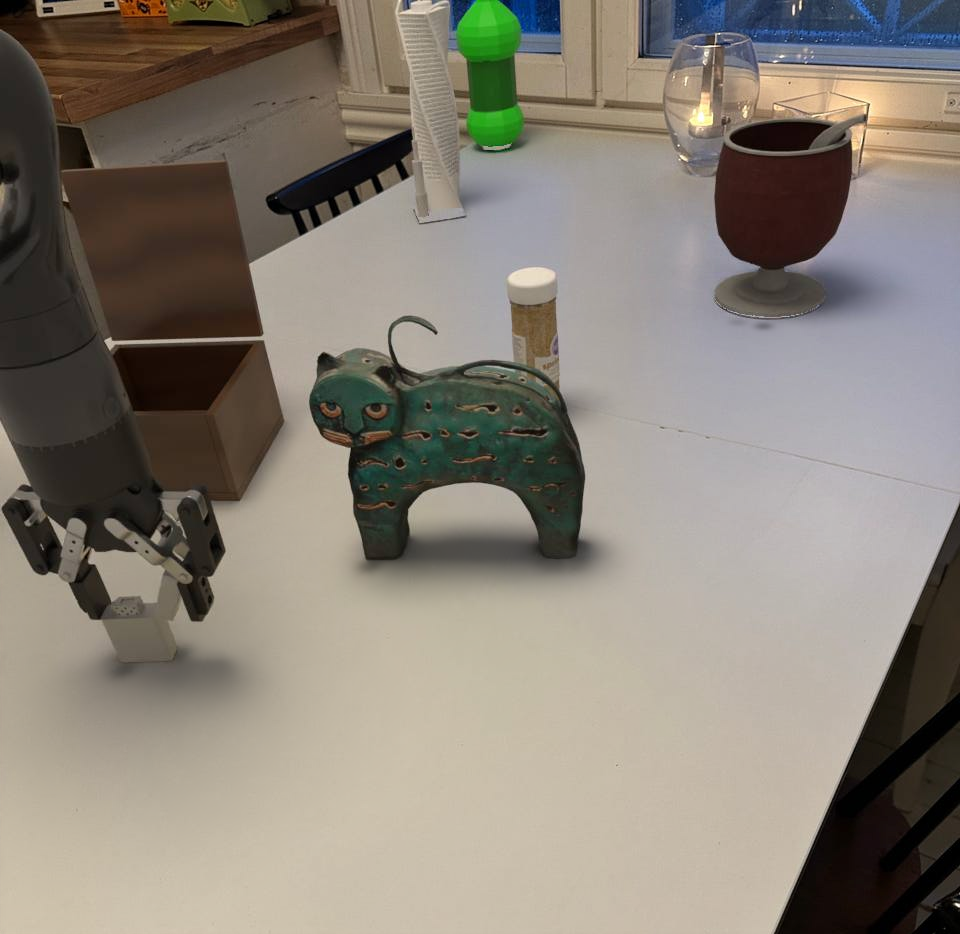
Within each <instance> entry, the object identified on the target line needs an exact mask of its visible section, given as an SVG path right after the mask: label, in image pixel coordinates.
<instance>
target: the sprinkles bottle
mask: <svg viewBox="0 0 960 934" xmlns="http://www.w3.org/2000/svg"><path fill="white" fill-rule="evenodd" d="M506 288H507V289H506V291H507V298H508V301H509V304H510V314H511V315H510V318H511V338H512V339H511V340H512V354H513V362H515V363H520V364H524V365H527V366H530V367H533V368H536V369H538V370H540V371H541V372H543V373H544V374H545V375H547V376H548V377H549V378H550V379H551V380H552V381H553V382H554V383H555V384H556V386H557V388H558V389H559V391H560V389H561V388H560V386H561V385H560V376H561V374H560V373H561V372H560V370H561V369H560V352H559V350H560V349H559V333H558V321H557V320H558V318H557V302H556V301H557V296H558V277H557V274H556V273H555V271H553V270H552V269H550V268H546V267H539V266H538V267H536V266H534V267H526V268H525V267H524V268H521V269H518V270H515V271H514V272H511V274H509V275H508V277H507V280H506ZM514 372H517V373H519V374H522V375H524V376H527V377H528V378H530V379H532V380H533V381H535V382H537V383H539V384H540V385H542V386H543V387H545V388H546V389H547V390H548V391H549V392H550V393H552V394H553V395H554V396H555V397H556V398H557V399H558V401H559V398H558V396H557V395H556V393H555V392H554V391H553V390H552V389H551V387H550V386H548V385H547V384H545V383H544V382H543V381H541V380H540V379H539V378H537V377H535V376H533V375H532V374H529V373H527V372H524V371H519V370H515V369H514ZM560 392H561V391H560ZM559 402H560V401H559Z"/></svg>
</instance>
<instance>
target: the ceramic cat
mask: <svg viewBox="0 0 960 934" xmlns="http://www.w3.org/2000/svg"><path fill="white" fill-rule="evenodd" d="M401 323H413V324H417V325H419V326H421V327H424V328H425V329H426V330H429V331H431V332H432V333H433V335H435V336H437V335H438V333H439V332H438V330H437V328H436V327H435V326H434V325H433V324H432V323H431V322H430V321H428V320H427V319H425V318H424V317H423V318H422V317H420V316H416V315H403V316H400V317H398V318H397V319H396V320H394V321H393V322H392V323H390V326H389V328H388V332H387V347H388V351H389V355H390V356H389V355H387V354H385V353H382V352H381V351H378V350H374V349H370V348H364V347H356V348H353V349H349V350H345V351H344V352H342V353H340V354H339V355H337V356H335V355H332V354H330V353H329V352H327V351H322V352H321V353H320V354H319V355H318V356H317V359H316V364H317V365H316V378H315V381H314V384H313V386H312V389H311V391H310V393H309V399H308V405H309V410H310V414H311V418H312V421H313V423H314V425H315V426H316V428H317V430H318V432H319V435H320V436H321V437H322V438H323V439H325V440H326V441H328V442H330V443H332V444H334V445H337V446H341V447H345V448H347V449H350V450H349V451H350V452H349V457H348V462H347V478H348V481H349V486H350V490H351V494H352V514H353V517H354V519H355V523H356V524H357V528H358V530H359V534H360V539H361V544H362V548H363V553H364V559H367V560H396V559H397V558H399V557H400V556H402V555H403V554H404V552H405V551H406V548H407V543H408V539H409V537H410V536H411V535H410V533H411V531H410V530H411V529H410V528H411V527H410V523H409V509H410V508H411V507H412V505H413V504H414V503H415V502H416V500H417V499H418V498H419V497H420V496H421V495H422V494H423V493H425V492H428V491H429V490H433V489H437V488H443V487H448V486H452V485H458V484H472V483H474V484H484V485H485V484H486V485H492V486H495V487H500V488H503V489H506V490H508V491H510V492H513V493H514V494H515V495H516V496H517V497H518V498H519V499H520V501H521V502H522V504H523V505H524V508H526V510H527V511H528V513H529V515H530V518H531V520H532V522H533V524H534V526H535V529H536V531H537V532H536V533H537V537H538V543H539V550H540V553H541V555H542V556H543V557H545V558H550V559H565V558H572V557H576V555H577V554H578V547H579V539H580V532H581V526H582V516H583V508H584V493H585V485H586V470H585V465H584V462H583V457H582V450H581V445H580V441H579V439H578V436H577V433H576V431H575V428H574V425H573V423H572V420H571V418H570V416H569V413H568V409H567V405H566V402H565V399H564V397H563V395H562V392H561V391H559V389H558V388H557V386H556V384H555V383H554V382H553V381H552V380H551V379H550V378H549V377H548V376H547V375H545V374H544V373H543V372H541V371H540V370H538V369H536V368H533V367H530V366H527V365H524V364H520V363H515V362H514V361H510V360H499V359H482V360H476V361H472V362H468V363H464V364H462V365H453V366H445V367H440V368H435V369H431V370H428V371H423V372H416V371H413V370H410V369H408V368H405V366H403V365H402V364H401V363H399V361H398V358H397V355H396V353H395V351H394V347H393V344H392V333H393V331H394V329H395V328H396V326H398V325H400V324H401ZM498 367H500V368H498ZM503 368H504V369H503ZM513 370H514V371H513ZM515 370H519V371H524V372H527V373H529V374H532V375H533V376H535V377H537V378H539V379H540V380H541V381H543V382H544V383H545V384H547V385H548V386H550V387H551V389H552V390H553V391H554V392H555V393H556V395H557V396H558V398H559V401H560V402H559V401H558V399H557V398H556V397H555V396H554V395H553V394H552V393H550V392H549V391H548V390H547V389H546V388H545V387H543V386H542V385H540V384H539V383H537V382H535V381H533V380H532V379H530V378H528V377H527V376H524V375H522V374H519V373H517V372H515Z"/></svg>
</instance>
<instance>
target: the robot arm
mask: <svg viewBox="0 0 960 934" xmlns="http://www.w3.org/2000/svg"><path fill="white" fill-rule="evenodd" d="M45 78H46V77H45V76H44V74H43V72H42V70H41V68H40V66H39V65H38V64H37V62H36V61H35V59H34V58H33V57H32V55H31V54H30V52H28V50H26V48H24V46H23V45H22V44H21V43H20V41H18V40H17V39H15V38H14V37H13V36H12V35H11V34H10V33H7V32H5V31H4V30H2V29H1V28H0V186H2V185H3V186H4V195H3V201H2V204H1V207H0V423H1V426H2V428H3V430H4V432H5V435H6V436H7V438H8V441H9V442H10V444H11V446H12V449H13V451H14V453H15V455H16V457H17V459H18V461H19V464H20V465H21V468H22V470H23V472H24V474H25V476H26V478H27V480H28V483H29V484H21V485H20V486H18V488H17V489H16V490H14V491H13V493H12V494H11V495H10V496H9V497H8V498H7V500H6V501H5V502H4V504H3V505H2V506H1V512H2V514H3V517H4V518H5V521H6V522H7V524H8V525H9V528H10V529H11V532H12V533H13V535H14V537H15V540H16V541H17V543H18V545H19V547H20V549H21V550H22V553H23V554H24V557H25V558H26V560H27V562H28V564H29V566H30V567H31V569H32V571H33V572H34V573H35V574H37V575H39V576H47V575H48V574H49V573H52V574H55V575H58V577H59V578H60V580H62V581H63V582H65V583H68V585H69V588H70V590H71V593H72V594H73V596H74V597H75V600H76V602H77V604H78V607H79V608H80V609H81V610H82V611H83V613H84V614H87V616H88V618H89V619H90V621H101V616H102V614H103V612H104V611H105V609H106V607H107V606H108V605H110V604H111V603H112V598H111V596H110V593H109V592H108V589H107V588H106V585H105V583H104V581H103V577H102V576H101V574H100V571H99V569H98V567H97V565H96V563H89V561H90V559H91V556H92V552H93V550H94V552H95V553H108V552H112V551H119V552H123V553H138V554H139V555H140V556H141V557H142V558H143V559H145V561H147V562H148V563H149V564H150V565H152V566H155V567H156V566H160V567H162V568H163V569H164V571H165V570H166V571H167V572H169V573H170V574H171V575H172V576H173V577H174V578H175V579H177V580H178V582H177V587H178V589H179V592H180V595H181V600H182V602H183V605H184V608H185V610H186V613H187V616H188V618H189V620H190V622H191V623H193V622H195V623H197V622H198V623H202V622H203V621H204V620H205V618H206V616H207V615H208V614H209V612H210V610H211V608H212V606H213V604H214V603H215V595H214V593H213V590H212V587H211V583H210V581H209V578H210V577H213V576H214V575H215V572H216V570H217V569H218V567H219V566H220V563H221V562H222V560H223V558H224V556H225V554H226V552H227V551H226V547H225V544H224V543H225V542H224V540H223V536H222V533H221V530H220V527H219V524H218V521H217V518H216V514H215V511H214V508H213V505H212V500H210V498H209V494H208V491H207V489H206V488H205V487H204V486H203V485H201V484H198V483H195V484H192V485H191V487H190V488H189V490H188V491H165V489H164V488H163V487H162V486H161V485H160V484H159V483H158V482H157V480H156V479H155V478H154V476H153V474H152V469H151V462H150V456H149V452H148V449H147V447H146V444H145V441H144V439H143V436H142V433H141V430H140V428H139V425H138V422H137V420H136V417H135V414H134V411H133V409H132V406H131V403H130V400H129V398H128V395H127V392H126V389H125V387H124V384H123V381H122V378H121V376H120V373H119V370H118V368H117V365H116V363H115V360H114V358H113V356H112V354H111V352H110V350H111V349H110V348H109V346H108V344H107V343H106V341H105V339H104V337H103V335H102V333H101V331H100V328H99V326H98V323H97V320H96V318H95V315H94V312H93V309H92V307H91V304H90V301H89V299H88V296H87V293H86V291H85V288H84V285H83V283H82V279H81V277H80V274H79V272H78V271H79V270H78V268H77V265H76V262H75V258H74V255H73V252H72V251H73V250H72V247H71V241H70V237H69V232H68V226H67V219H66V218H67V217H66V211H65V206H64V197H63V186H62V185H63V183H62V179H61V171H62V170H61V155H60V154H61V153H60V141H59V140H60V139H59V132H58V123H57V116H56V109H55V105H54V101H53V97H52V93H51V91H50V88H49V85H48V82H47V81H46V79H45ZM166 512H167V513H169V514H171V515H172V516H173V518H174V520H173V518H171V517H170V516H169V515H168V514H167V513H166ZM50 519H51V520H52V521H53V522H55V523H56V524H57V525H59V526H60V527H61V528H62V529H64V530H65V531H66V533H65V537H64V541H63V544H62V543H61V541H60V538H59V536H58V534H57V532H56V531H55V528H54V526H53V524H52V522H51V520H50ZM156 531H158V533H159V534H160V539H159V541H158V543H156V542H155V541H153V540H152V538H153V536H154V534H155V533H156ZM184 535H185V536H184ZM176 554H177V555H178V556H179V557H180V558H179V557H178V556H177V555H176Z"/></svg>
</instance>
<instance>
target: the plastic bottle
mask: <svg viewBox="0 0 960 934" xmlns="http://www.w3.org/2000/svg"><path fill="white" fill-rule="evenodd" d="M455 38H456V45H457V48H458V52H459V53H460V55H461V56H463V58H464V59H465V61H466V71H467V72H466V73H467V84H468V94H469V105H470V106H469V107H470V108H469V111H468V113H467V117H466V121H465V124H466V130H467V133H468V135H469V137H470V138H471V140H472V141H473V142H475V143H476V144H477V145H478V144H479V145H482V146H488V147H493V146H504V145H507V144H511V143H513V142H514V141H515V142H516V141H517V139H518V138H519V137H520V136H521V134H522V132H523V130H524V126H525V116H524V112H523V110H522V108H521V107H520V105H519V104H518V93H517V75H516V74H517V73H516V58H515V54H516V53H517V51H518V50H519V48H520V47H521V43H522V26H521V24H520V21H519V18H518V17H517V16H516V15H515V13H513V12H512V11H511V10H510V9H509V8H508V7H507V6H506V5H504V3H502V2H501V1H500V0H475V1H474V3H472V5H471V6H470V7H469V8H468V10H466V12H465V14H464V15H463V16H462V18H461V19H460V20H459V22H458V24H457V28H456V32H455ZM515 142H514V143H515ZM514 143H513V144H514ZM513 144H512V145H511V146H510V147H509V148H506V149H503V150H494V151H493V152H501V151H502V152H503V151H505V150H509V149H510V148H512V146H513ZM479 145H478V146H479Z"/></svg>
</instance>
